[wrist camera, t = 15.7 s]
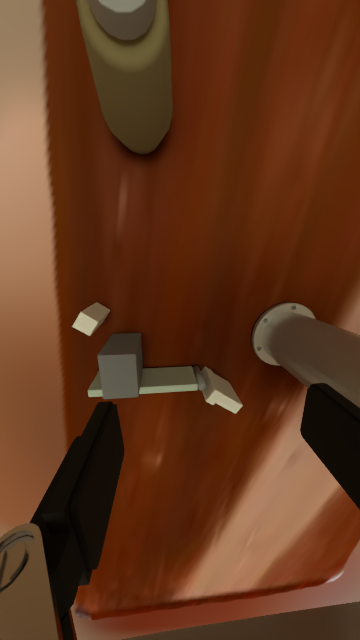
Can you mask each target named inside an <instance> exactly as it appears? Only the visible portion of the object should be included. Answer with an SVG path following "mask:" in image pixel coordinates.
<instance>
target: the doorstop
mask: <svg viewBox="0 0 360 640" xmlns="http://www.w3.org/2000/svg"><path fill="white" fill-rule="evenodd" d="M98 363H99V371H100V378H101V386H102V393H103V399H113V398H128V397H139V390H140V384H141V378H142V371H143V357H142V339H141V333H121V334H112V335H111V336H110V338H109V339H108V341H107V342H106V344H105V345H104V347H103V348H102V350H101V351H100V353H99V354H98Z"/></svg>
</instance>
